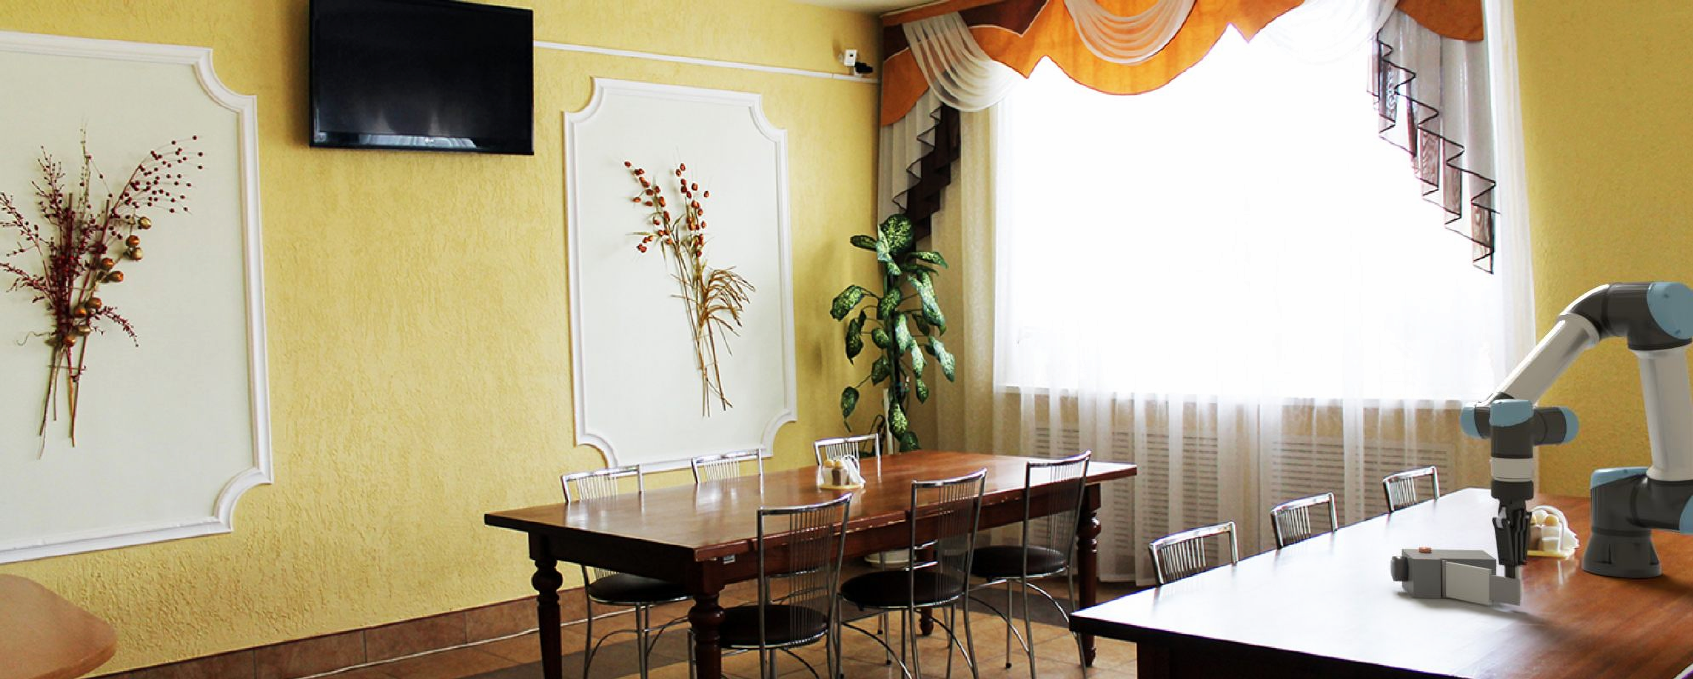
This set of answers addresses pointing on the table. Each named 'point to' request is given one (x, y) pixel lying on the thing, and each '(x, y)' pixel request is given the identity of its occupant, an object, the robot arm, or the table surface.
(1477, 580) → the side door
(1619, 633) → the table surface
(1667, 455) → the robot arm
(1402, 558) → the housing
